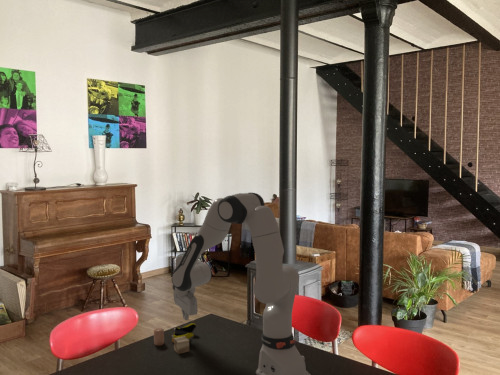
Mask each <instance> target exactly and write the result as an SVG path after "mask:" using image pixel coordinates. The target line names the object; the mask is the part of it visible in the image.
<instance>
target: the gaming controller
mask: <svg viewBox="0 0 500 375" xmlns="http://www.w3.org/2000/svg"><path fill="white" fill-rule="evenodd" d="M196 329H197V324H196V323H194V322H193V323H189V324H187V325H185V326H183V327H181V328H180V327H174V328H173V330H174V332H173V334H171V337H172V338H171V342H172V343H174V338H178V337H183V336H185V337H186V338H187V339H189V342H191V341H192V339H194V337H195V335H194V331H195V330H196Z"/></svg>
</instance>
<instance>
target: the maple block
mask: <svg viewBox="0 0 500 375" xmlns="http://www.w3.org/2000/svg"><path fill="white" fill-rule="evenodd" d="M173 350H174V351H175V352H176V354H178V355H180V354H184V353H187V352H190V341H189V339H187V338H186V337H185V336H183V337H178V338H174V342H173Z"/></svg>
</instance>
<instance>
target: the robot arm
mask: <svg viewBox="0 0 500 375" xmlns="http://www.w3.org/2000/svg"><path fill="white" fill-rule="evenodd" d="M211 203H212V204H211V205H210V207H209V209H208V211H207V213H206V215H205V218H204V220H203V223H202V225H201V226H200V228H199V229H198V231H197V233H196V234H195V235H194V236H193V237H192V239H191V240H190V242H189V244H188V246H187V248H186V250H185V252H184V253H180V254H178V255H176V258H175V263H174V264H175V266H174V270H173V272H172V275H171V283H172V290H173V302H174V304H175V305H176V306H177V307H179V308H180V309H181V313H182V318H183V319H184V320H185V321H187V320H189V318H190V316H195V315H198V311H199V310H198V301H197V297H196V296H195V293H196V287H199V286H200V287H201V286H202V285H206V284H208V283H209V282H210V281H211V279H212V276H213V272H212V268H211V267H210V265H209V264H208V263H207V262H203V261H201V260H199V259H200V257H201V256H202V254H204V253H205V252H206V251H208V250H210V249H211V248H214V247H215V246H217V245H219V244H221V243H222V242H224V240H225V239H226V237H227V236H228V234H229V232H230V228H231V225H232V224H236V225H242V224H243V223H245V225H247V226H248V229H249V231H250V236H251V237H250V238H251V241H252V246H253V249H254V255H255V264H256V265H255V266H256V267H255V268H256V270H255V273H256V275H255V282H254V283H253V294H254V296H255V299H256V300H258V302H260V303H262V304H265V308H264V309H263V313H262V332H261V343H262V346H261V348H260V351H259V356H258V367H257V369H256V370H255V374H256V375H311V373H310V372H309V371H308V370H306V368H307V367H306V362H305V360H306V359H305V356H304V355H301V353H300V352H299V350H298V349H297V346H296V345H295V343H297V342H296V339H295V337H294V334H293V328H292V327H293V325H292V324H293V310H294V309H293V307H294V303H295V298H296V292H297V287H298V284H299V282H300V275H299V272H298V271H297V270H296V268H294V267H292V266H289V265H283V260H284V259H283V257H284V254H285V249H284V244H283V240H282V237H281V233H280V232H281V231H280V228H279V225H278V222H277V219H276V217H275V214H274V211H273V210H272V208H271V207H269V206H267V205H265V204H266V203H265V201H264V198H263V197H262V196H261V195H260V194H258V193H256V192H244V193H242V192H241V193H235V194H231V195H227V196H225V197H221V198H216V199H215V200H213V202H211Z"/></svg>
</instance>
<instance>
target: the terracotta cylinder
mask: <svg viewBox="0 0 500 375" xmlns="http://www.w3.org/2000/svg"><path fill="white" fill-rule="evenodd" d="M164 344H165V329H164V328H159V327H158V328H154V329H153V345H154V346H158V347H159V346H163V345H164Z"/></svg>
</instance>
